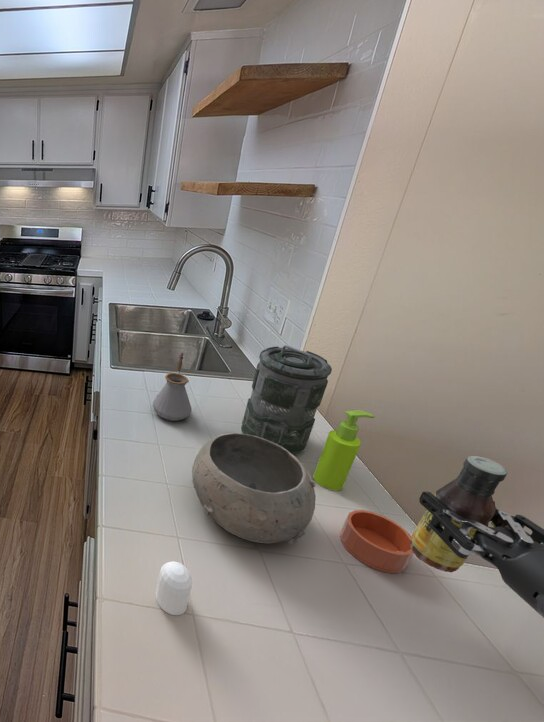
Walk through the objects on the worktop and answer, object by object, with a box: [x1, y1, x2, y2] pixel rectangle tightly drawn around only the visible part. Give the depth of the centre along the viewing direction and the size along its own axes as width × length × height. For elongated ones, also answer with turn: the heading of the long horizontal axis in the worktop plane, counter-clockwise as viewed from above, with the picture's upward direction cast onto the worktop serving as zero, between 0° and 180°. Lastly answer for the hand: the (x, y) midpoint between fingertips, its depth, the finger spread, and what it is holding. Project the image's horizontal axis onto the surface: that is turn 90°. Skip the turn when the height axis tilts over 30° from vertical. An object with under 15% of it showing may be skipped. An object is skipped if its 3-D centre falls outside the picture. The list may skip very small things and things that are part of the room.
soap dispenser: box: [312, 409, 375, 492], centre depth 90 cm, size 6×7×20 cm
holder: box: [339, 509, 415, 574], centre depth 76 cm, size 10×10×5 cm
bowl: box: [191, 432, 316, 544], centre depth 82 cm, size 23×23×15 cm
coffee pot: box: [152, 352, 192, 422], centre depth 121 cm, size 21×12×15 cm, turn 155°
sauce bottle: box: [410, 455, 508, 573], centre depth 60 cm, size 6×6×20 cm
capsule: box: [154, 560, 193, 616], centre depth 66 cm, size 5×5×8 cm
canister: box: [240, 344, 333, 456], centre depth 103 cm, size 16×16×28 cm
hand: (445, 496), depth 62 cm, fingers closed on sauce bottle, 6 cm apart
